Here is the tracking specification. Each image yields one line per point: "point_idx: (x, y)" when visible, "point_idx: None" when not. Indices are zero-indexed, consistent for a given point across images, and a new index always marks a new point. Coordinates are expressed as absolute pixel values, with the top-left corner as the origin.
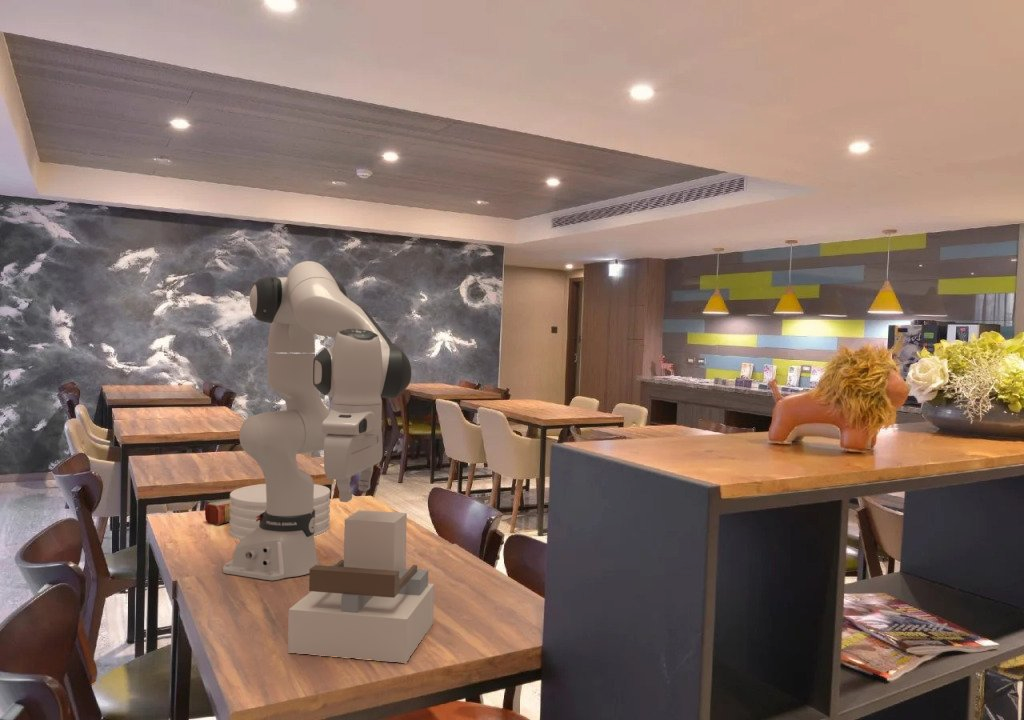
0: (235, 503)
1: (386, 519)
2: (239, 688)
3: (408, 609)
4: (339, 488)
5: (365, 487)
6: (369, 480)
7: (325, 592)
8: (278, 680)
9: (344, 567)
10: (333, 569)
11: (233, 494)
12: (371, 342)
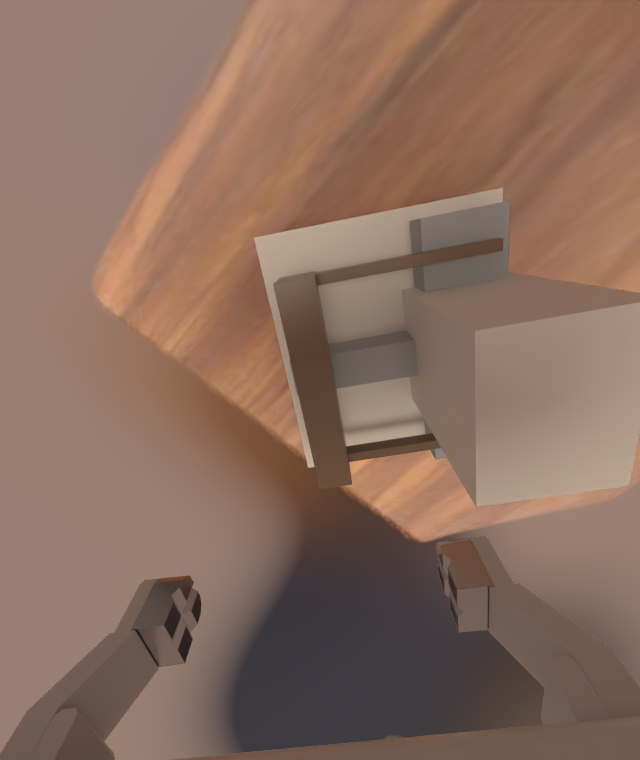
0: None
1: (515, 467)
2: (131, 246)
3: None
4: (84, 665)
5: (446, 585)
6: (494, 631)
7: (382, 252)
8: (183, 287)
9: (325, 364)
10: (299, 347)
11: None
12: None
